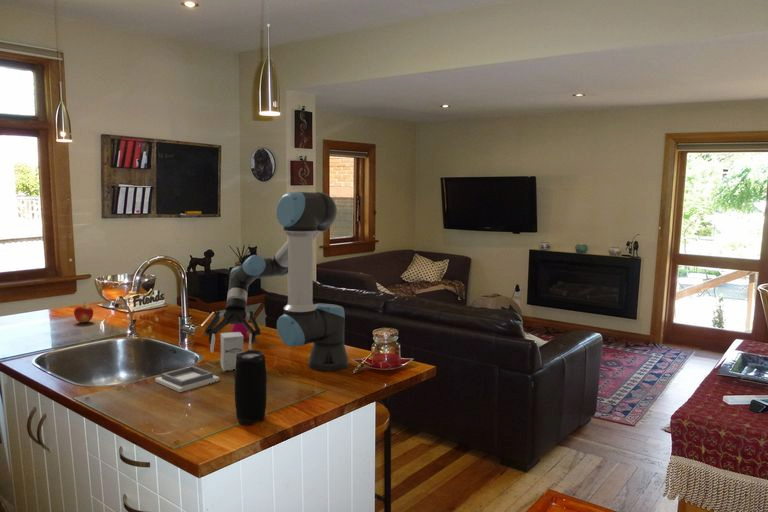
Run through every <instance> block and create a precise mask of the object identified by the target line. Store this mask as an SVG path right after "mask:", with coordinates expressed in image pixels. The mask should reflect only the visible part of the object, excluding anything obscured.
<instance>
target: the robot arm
mask: <svg viewBox="0 0 768 512" xmlns="http://www.w3.org/2000/svg"><path fill="white" fill-rule="evenodd" d="M337 209H338V208H337V205H336V202H335V201H334V199H333V198H332V197H331V196H330V195H329V194H327V193H323V192H321V191H320V192H313V191H312V192H309V191H303V192H302V191H295V192H288V193H287V192H286V193H285V194H283V195H282V197H281V198H280V199H279V200H278V203H277V205H276V215H275V216H276V219H277V220H278V223H279V225H281V226H282V227H283V232H284V233H285V234H286V236H287V241H285V243H284V244H283V245H282V246H281V247H280V248H279V250H278V251H277V252H276V253H275V254H274V255H273V256H272V257H268V258H267V257H266V258H265V257H264V258H263V257H262V256H260V255H257V254H253V255H250V256H249V257H248V258H247V259H245V260H244V261H243V263H242V264H240V265H237V266H234V267H233V268H232V269H231V271H230V274H229V280H228V289H227V296H226V297H227V298H226V304H225V310H224V312H220V310H217V311H216V312H215V315H214V318H213V319H212V320H211V322H210V323H209V324H208V325H207V327H206V328H205V329H204V334H205V336H208V344H209V345H210V347H209V350H210V353H212V354H213V353H214V349H215V345H216V344H215V342H216V334H218V333H219V332H220V331H221V330H222V329H224V328H225V327H226V326H228V324H229V325H233V324H239V323H241V324H242V325H243V326H244V327H245V328H246V329H247V330H248V333H249V336H248V337H249V338H248V347H247V351H248V350H252V346H253V344H255V343H256V337H257V336H260V335H261V334H262V332H261V329H260V327H259V325H258V323H257V320H256V319H255V316H254V315H255V314H254V312H253V311H252V310H251V311H249V312H247V305H246V302H247V303H248V293H249V291H248V290H249V286H250V285H251V284H252V283H253V282H254V281H255V280H256V279H262V278H269V277H270V278H271V277H280V276H287V304H286V305H285V306H283V314H282V315H280V316H279V317H278V319H277V321H276V331H277V334H278V336H279V338H280V340H281V341H282V343H283V344H284V345H286V346H287V347H290V348H295V347H302V346H305V345H309V344H312V346H311V347H312V348H311V351H310V356H309V357H308V362H307V363H308V367H310V368H311V369H312V370H316V371H322V372H330V371H331V372H332V371H334V372H335V371H340V370H343V369H346V368H348V367H349V362H350V361H349V359H350V358H349V356H348V354H347V350H346V346H345V325H346V324H345V323H346V322H345V319H346V317H345V309H344V307H343V306H341V305H338V304H331V303H315V304H314V302H313V293H314V292H313V290H314V289H313V288H314V287H313V277H314V276H313V274H314V271H313V268H314V266H313V265H314V264H313V263H314V261H313V258H314V257H313V256H314V255H313V253H314V251H313V250H314V245H313V244H314V241H315V240H316V239H317V237H318V236H319V235H320V234H321V233H323V232H326V231H327V230H328V229H329V228H330V227H331V226H332V225H333V223H334V222H335V220H336V218H337V214H338V211H337ZM245 318H246V319H247V318H248V319H249V320H250V322H251V325H250V324H249V323H248V321H247V322H246V321H245ZM221 319H222V320H221ZM220 320H221V321H220ZM219 321H220V322H219ZM252 326H253V327H254V329H253V328H252Z"/></svg>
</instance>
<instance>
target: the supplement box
mask: <svg viewBox="0 0 768 512" xmlns="http://www.w3.org/2000/svg"><path fill="white" fill-rule="evenodd" d="M219 335H220V366H221V369H222V370H223V372H226V371H227V370H228V371H234V370H233V369H235V366H236V357H237V354H238V353H242V352H245V351H244V337H243V335H242V333H241V332H233V331H230V332H221V333H220V334H219Z"/></svg>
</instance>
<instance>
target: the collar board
mask: <svg viewBox="0 0 768 512" xmlns="http://www.w3.org/2000/svg"><path fill="white" fill-rule="evenodd" d="M154 380H155V383H157V384H160V385H162V386H165V387H166V388H168V389H169V388H170V389H172V390H173V391H175V392H178V393H182V392H185V391H188V390H192V389H195V388H199V387H202V386H206V385H210V384H212V382H213V383H216V382H219V381H220V376H217V375H214V373H213V372H212V371H208V370H206V369H203V368H200V367H197V366H196V365H191V366H187V367H182V368H180V369H179V368H178V369H176V370H172V371H167V372H163V373H161V376H158V377H155V379H154ZM218 380H219V381H218ZM215 381H216V382H215ZM209 383H210V384H209Z"/></svg>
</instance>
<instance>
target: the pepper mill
mask: <svg viewBox="0 0 768 512" xmlns="http://www.w3.org/2000/svg"><path fill="white" fill-rule="evenodd" d="M247 305H248V301H247V302H246V306H247ZM245 321H246V322H247V323H248V321H247V317H246V318H245ZM231 325H232V326H231V332H241V333H242V335H243V337H244V339H245V340H247V339H249V338H248V337H249V334H248V333H249V331H248V330H247V329H246V328H245V327H244V326H243V325H242V324H241V323H239V324H231Z"/></svg>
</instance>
